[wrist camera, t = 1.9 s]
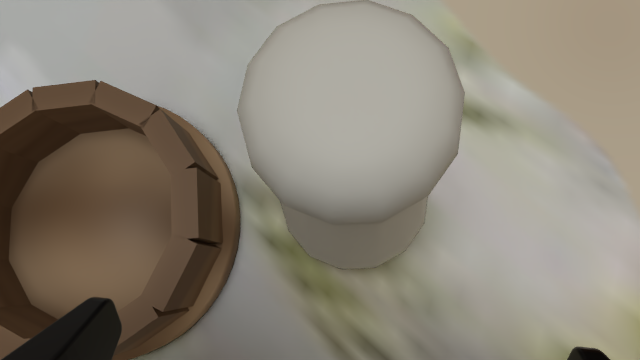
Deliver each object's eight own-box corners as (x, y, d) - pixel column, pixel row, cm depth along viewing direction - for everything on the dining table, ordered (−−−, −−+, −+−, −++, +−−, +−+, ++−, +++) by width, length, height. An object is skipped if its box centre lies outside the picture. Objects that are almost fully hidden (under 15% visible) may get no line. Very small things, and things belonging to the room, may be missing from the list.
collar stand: (246, 349, 20) (216, 369, 15) (-10, 369, 20) (-103, 393, 16) (234, 96, 22) (205, 54, 18) (6, 122, 23) (-72, 88, 19)
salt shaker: (269, 238, 20) (122, 178, 8) (319, 124, 21) (260, -96, 9) (392, 291, 20) (454, 322, 7) (439, 170, 20) (570, -3, 8)
